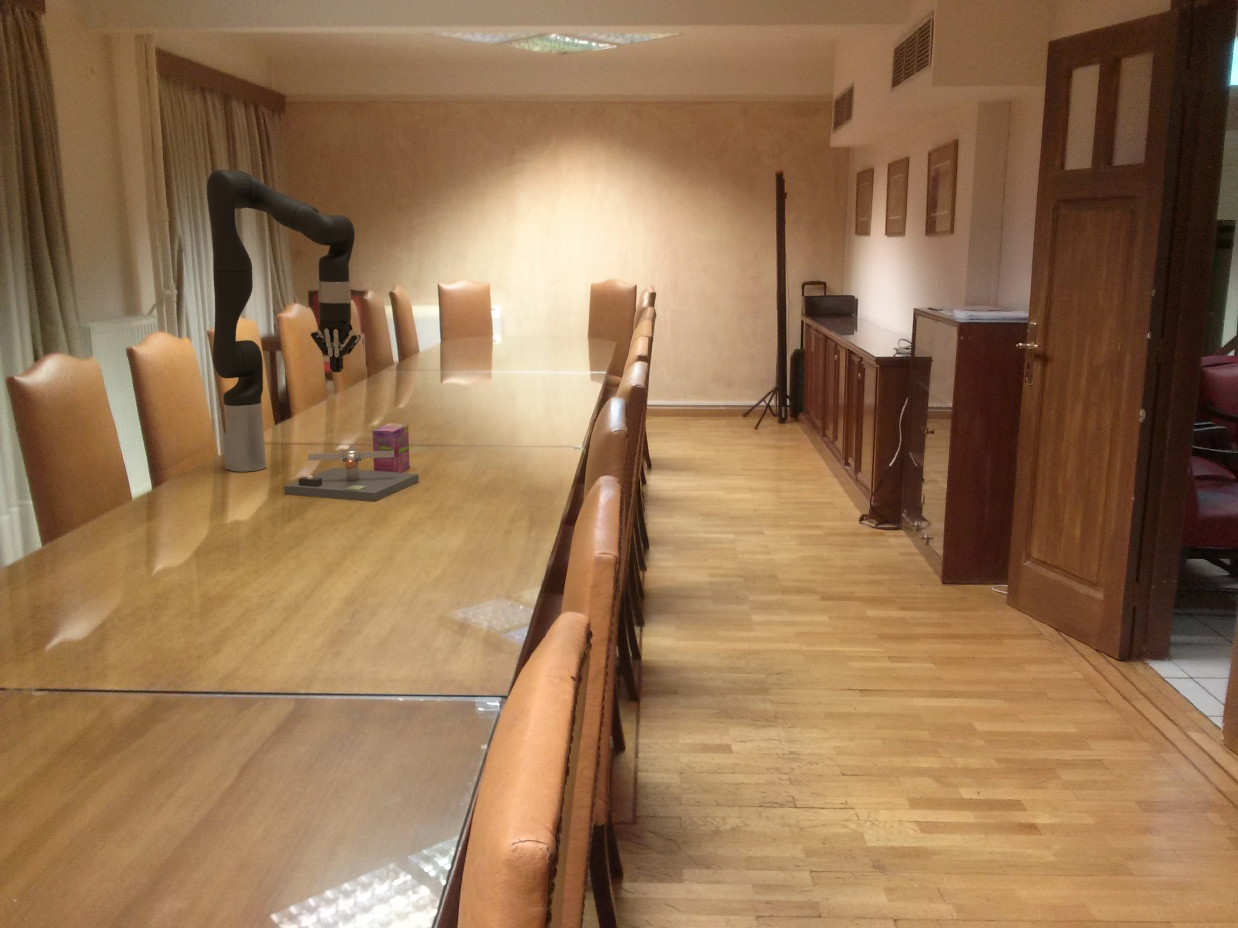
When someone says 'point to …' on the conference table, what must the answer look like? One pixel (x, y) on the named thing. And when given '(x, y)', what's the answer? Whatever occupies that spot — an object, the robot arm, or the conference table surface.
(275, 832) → the conference table surface
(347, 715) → the conference table surface
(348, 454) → the capstan
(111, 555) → the conference table surface
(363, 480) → the stand
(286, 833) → the conference table surface
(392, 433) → the box
